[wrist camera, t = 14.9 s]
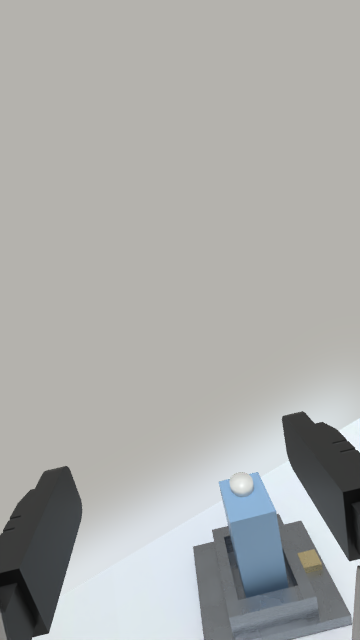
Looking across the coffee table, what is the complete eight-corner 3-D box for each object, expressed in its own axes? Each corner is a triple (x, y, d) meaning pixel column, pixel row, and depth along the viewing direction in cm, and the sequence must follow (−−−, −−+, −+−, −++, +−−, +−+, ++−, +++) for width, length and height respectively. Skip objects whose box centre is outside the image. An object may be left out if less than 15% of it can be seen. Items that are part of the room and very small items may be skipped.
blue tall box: (248, 607, 30) (228, 515, 27) (235, 558, 35) (217, 475, 32) (290, 596, 30) (274, 504, 27) (271, 548, 35) (256, 465, 32)
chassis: (207, 660, 28) (200, 632, 27) (195, 553, 38) (189, 531, 37) (351, 624, 28) (349, 595, 27) (302, 527, 38) (298, 504, 37)
